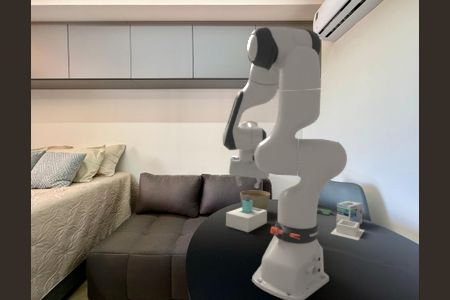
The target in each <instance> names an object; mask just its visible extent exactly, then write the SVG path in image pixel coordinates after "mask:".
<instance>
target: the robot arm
mask: <svg viewBox="0 0 450 300" xmlns="http://www.w3.org/2000/svg"><path fill="white" fill-rule="evenodd" d="M247 40H248V41H247V49H246V50H247V57H248V60H249V62H250V63H251V67H250V71H249V75H248V80H247V83H246V85H245V86H244V88H243V89H241V90H239V91H238V92H237V94H236V96H235V99H234V101H233V105H232V107H231V110H230V114H229V117H228V121H227V123H226V126H225V128H224V131H223V134H222V145H223V146H224V147H225V149H227V150H229V151H237V150H238V156H234V155H233V156H232V157H231V158H230V163H229V168H228V169H229V170H228V173H229V175H230V176H233V177H235V180H236V181H235V182H236V186H239V187H240V186H241V187H242V186H243V182H242V181H241V177H245V178H251V179H253V178H254V179H255V178H256V179H255V180H256V183H254V184H253V186H254V187H253V188H255V189H259V188H260V184H261V182H262V179H263V180H264V179H265V180H266V179H268V178H269V176H270V174H271V175H274V176H290V177H291V176H292V177H293V176H294V177H295V176H296V177H298V178H300V179H299V182H298V183H297V184H295V185H293V186H290V187H288V188H286V189H284V190H282V191H281V192H280V193H279V196H278V198H277V219H276V220H275V225H274V226H271V227H270V234H272V235H273V237H272V239H271V240H270V242H269V244H268V246H267V248H266V250H265V252H264V254H263V256H262V259H261V264H260V266H259V267H258V268H257V270H256V271H255V272H254V274H253V275H252V279H251V281H252V283H254V285H255V286H256V287H258V288H259V289H261V290H263V291H264V292H266V293H269V294H270V295H272V296H275V297H277V298H280V299H281V300H306V299H307V298H308V297H310V296H311V295H313V294H314V293H315V292H316V291H318V290H319V289H320V288H322V287H323V286H324V285H326V284H327V283H328V282H329V281H330V276H329V275H328V273H326V272H325V271H324V249H323V247H322V245H321V244H320V243H319V241H318V237H319V224H318V223H317V215H318V214H317V208H318V205H319V199H320V196H321V194H322V191H323V190H324V188H325V187H326V186H327V184H328V183H329V182H330V181H332V180H333V179H334V178H336V177H337V176H339V175H340V174H341V173H343V171H344V170H345V168H346V165H347V162H348V156H347V151H346V149H345V148H344V146H343V145H342V144H341V143H340V142H339V141H334V140H328V139H324V138H297V137H296V135H297V133H298V132H299V131H300V130H302V129H304V128H307V127H309V126H311V125H312V124H315V123H316V122H317V120H318V119H319V117H320V115H321V90H322V89H321V88H322V84H321V83H322V79H321V78H322V76H321V64H320V58H319V55H320V52H321V46H322V45H321V39H320V35H319V34H318V33H317V32H315V31H314V30H310V29H306V28H304V29H299V28H294V27H291V28H290V27H288V26H281V27H280V26H277V27H267V26H266V27H259V28H257V29H254V30H253V31H252V32H251V34H250V35H249V37H248V39H247ZM277 92H278V107H277V109H278V111H277V118H276V122H275V125H274V126H273V128H272V131H270V133H269V134H268V135H267V132H266V130H264V129H263V128H262V127H260V126H259V124H258V122H256V121H253V120H246V121H243V122H241V119H242V116H243V114H244V113H245V112H246V111H247V110H249V109H251V108H254V107H257V106H261V105H265V104H267V103H268V102H270V101H271V100H273V99H274V98H275V96H276V95H277ZM240 122H241V124H240ZM239 125H240V126H239Z"/></svg>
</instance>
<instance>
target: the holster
mask: <svg viewBox="0 0 450 300" xmlns="http://www.w3.org/2000/svg"><path fill="white" fill-rule="evenodd" d="M364 232H365V229H361V228H360V224H359V223H358V222H353V221H348V220H343V219H341V220H340V221H339V222H338V223H337V222H336V227H335V228H334V229H333V230H332V231H331V232H330V234H331V235H335V236H339V237H343V238H347V239H352V240H354V241H359V240H360V238H361V237H362V236H363V233H364Z"/></svg>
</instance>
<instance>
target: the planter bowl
mask: <svg viewBox="0 0 450 300" xmlns="http://www.w3.org/2000/svg"><path fill="white" fill-rule="evenodd" d="M245 195H250V200H252V201H253V205H252V207H254V208H258V209H263V210H267V207H268V206H269V203H270V197H271V194H270V192H268V191H264V190H254V189H253V190H244V191H243V190H242V191H241V192H240V193H239V196H240V202H241V203H242V201H244V200H245Z"/></svg>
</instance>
